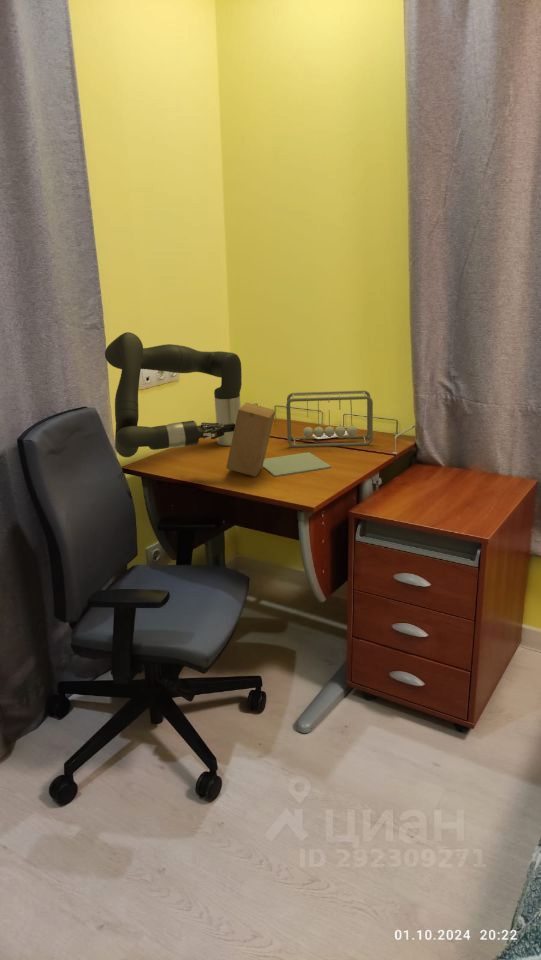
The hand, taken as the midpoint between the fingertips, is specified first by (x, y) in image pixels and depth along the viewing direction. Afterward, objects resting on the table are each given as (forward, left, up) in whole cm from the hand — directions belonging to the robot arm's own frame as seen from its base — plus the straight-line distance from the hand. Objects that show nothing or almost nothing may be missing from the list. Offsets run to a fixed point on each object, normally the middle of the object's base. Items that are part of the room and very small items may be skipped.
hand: (235, 426), depth 222 cm
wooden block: (0, +2, -14) cm, 14 cm away
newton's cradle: (-18, +41, -16) cm, 47 cm away
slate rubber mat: (0, +19, -15) cm, 24 cm away
